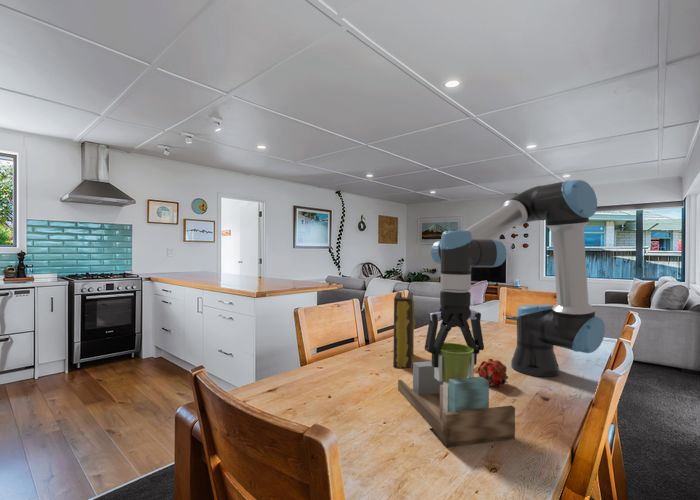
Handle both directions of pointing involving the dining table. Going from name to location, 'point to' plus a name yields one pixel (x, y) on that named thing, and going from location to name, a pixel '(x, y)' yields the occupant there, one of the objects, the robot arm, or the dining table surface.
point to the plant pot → (455, 360)
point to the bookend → (425, 378)
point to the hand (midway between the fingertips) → (454, 378)
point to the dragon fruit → (493, 372)
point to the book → (403, 330)
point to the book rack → (463, 412)
